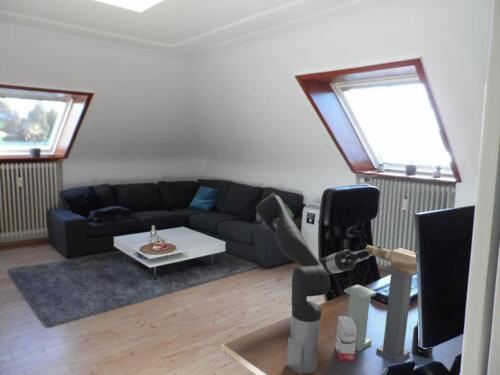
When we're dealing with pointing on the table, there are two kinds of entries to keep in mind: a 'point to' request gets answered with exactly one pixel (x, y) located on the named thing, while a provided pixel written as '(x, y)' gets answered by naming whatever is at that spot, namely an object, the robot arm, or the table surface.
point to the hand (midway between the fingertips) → (374, 251)
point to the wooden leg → (396, 258)
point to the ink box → (346, 338)
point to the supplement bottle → (416, 348)
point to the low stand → (360, 312)
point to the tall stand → (396, 316)
